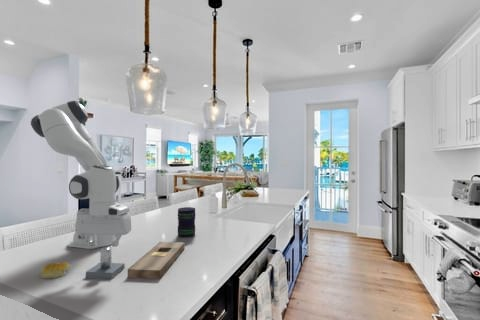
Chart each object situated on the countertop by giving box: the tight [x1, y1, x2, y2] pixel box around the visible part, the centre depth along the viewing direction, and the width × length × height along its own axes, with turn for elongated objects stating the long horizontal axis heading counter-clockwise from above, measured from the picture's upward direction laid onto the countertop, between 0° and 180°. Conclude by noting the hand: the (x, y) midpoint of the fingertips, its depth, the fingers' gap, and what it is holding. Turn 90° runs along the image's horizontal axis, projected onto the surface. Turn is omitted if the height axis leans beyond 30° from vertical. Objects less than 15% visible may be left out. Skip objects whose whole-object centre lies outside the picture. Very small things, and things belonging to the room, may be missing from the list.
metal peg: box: [99, 246, 112, 270], centre depth 92 cm, size 4×4×7 cm
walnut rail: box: [127, 241, 185, 280], centre depth 103 cm, size 12×30×3 cm, turn 176°
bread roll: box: [40, 261, 72, 279], centre depth 91 cm, size 8×9×4 cm
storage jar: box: [177, 206, 196, 239], centre depth 139 cm, size 10×10×15 cm
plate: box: [85, 262, 126, 279], centre depth 92 cm, size 10×8×2 cm
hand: (103, 245), depth 92 cm, fingers open, 8 cm apart
